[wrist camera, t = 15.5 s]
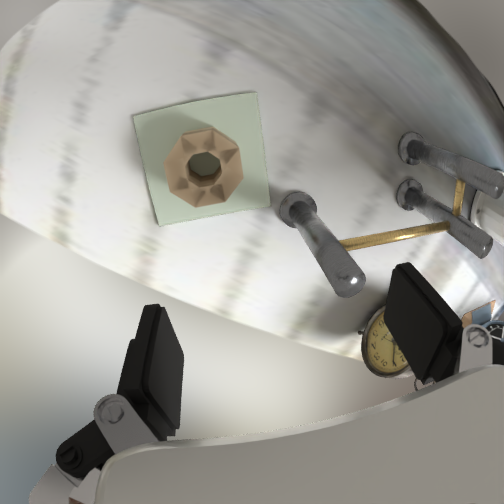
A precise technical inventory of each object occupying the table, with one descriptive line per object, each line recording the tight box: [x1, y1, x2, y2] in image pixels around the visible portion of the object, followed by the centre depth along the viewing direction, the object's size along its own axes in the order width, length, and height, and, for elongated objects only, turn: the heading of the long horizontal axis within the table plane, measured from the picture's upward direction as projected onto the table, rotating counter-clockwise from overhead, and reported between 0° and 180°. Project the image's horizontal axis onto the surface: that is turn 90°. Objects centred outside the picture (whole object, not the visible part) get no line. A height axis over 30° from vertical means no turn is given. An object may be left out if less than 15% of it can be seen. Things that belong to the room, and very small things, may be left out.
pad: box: [133, 92, 271, 226], centre depth 27 cm, size 12×12×1 cm
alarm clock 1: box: [358, 305, 435, 391], centre depth 35 cm, size 11×5×16 cm, turn 147°
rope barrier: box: [280, 132, 504, 298], centre depth 24 cm, size 19×10×14 cm, turn 97°
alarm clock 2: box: [461, 300, 504, 346], centre depth 43 cm, size 14×10×18 cm
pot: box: [163, 126, 244, 208], centre depth 25 cm, size 6×6×4 cm
